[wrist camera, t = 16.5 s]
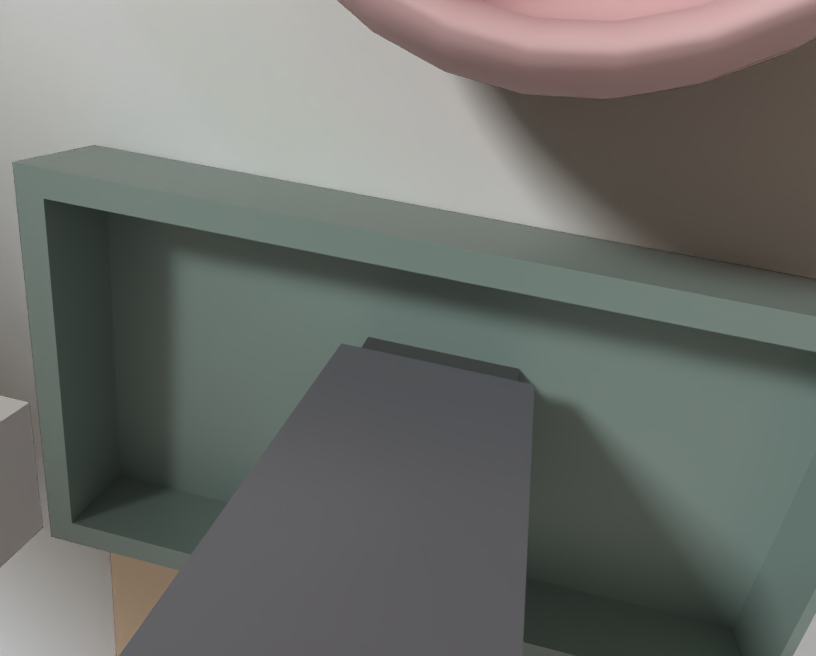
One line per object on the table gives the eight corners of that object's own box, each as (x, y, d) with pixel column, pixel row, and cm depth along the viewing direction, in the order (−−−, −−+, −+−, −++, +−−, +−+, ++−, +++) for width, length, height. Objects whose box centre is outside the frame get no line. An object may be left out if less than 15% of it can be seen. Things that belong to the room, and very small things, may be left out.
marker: (337, 469, 16) (-15, 1165, 6) (354, 319, 15) (-89, 929, 4) (500, 508, 16) (413, 1337, 6) (538, 357, 14) (511, 1143, 4)
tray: (111, 477, 19) (51, 536, 16) (94, 145, 15) (12, 162, 13) (744, 636, 17) (775, 729, 14) (908, 296, 13) (984, 349, 11)
